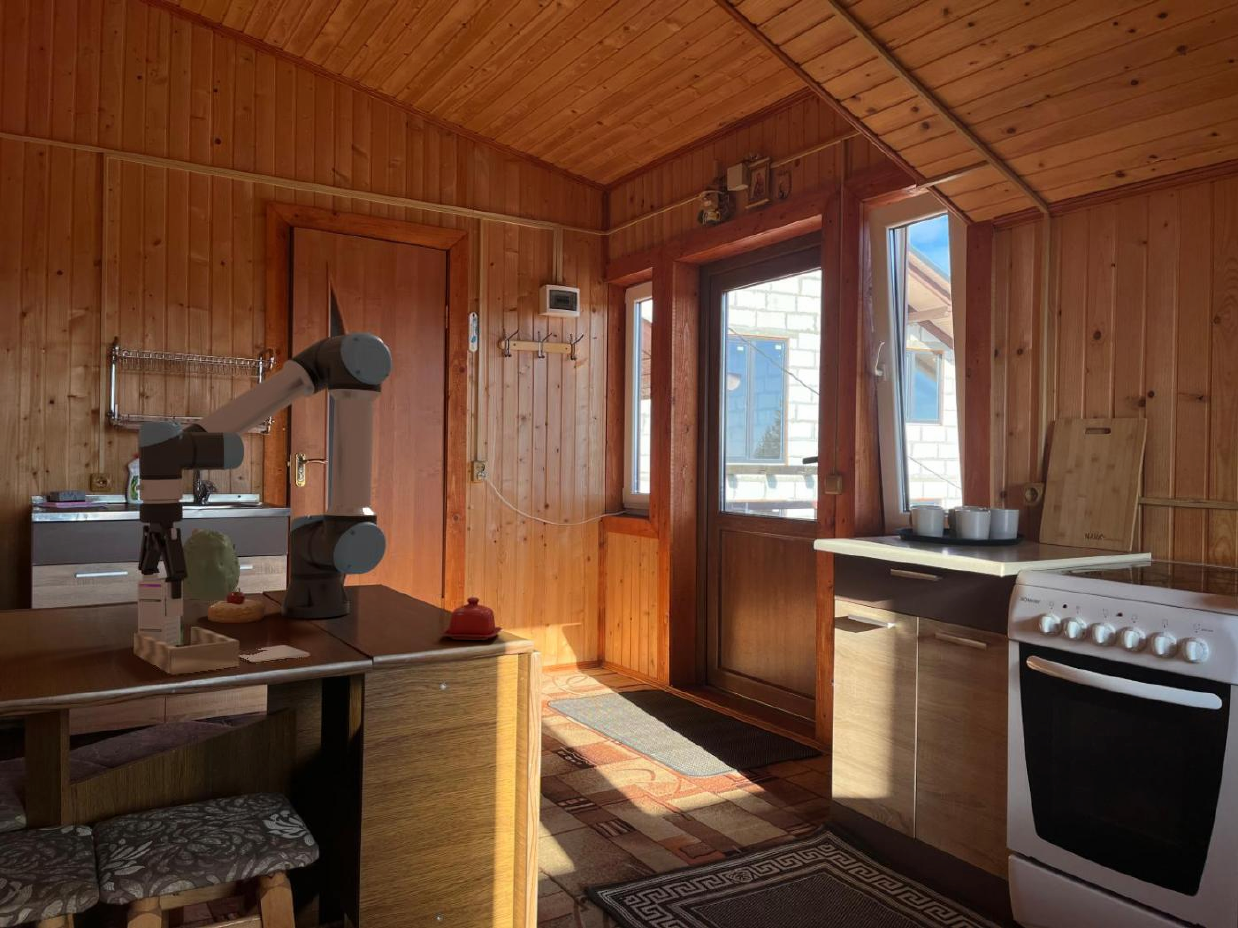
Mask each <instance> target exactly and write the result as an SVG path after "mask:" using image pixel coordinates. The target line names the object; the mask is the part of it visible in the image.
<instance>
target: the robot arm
mask: <svg viewBox="0 0 1238 928" xmlns="http://www.w3.org/2000/svg"><path fill="white" fill-rule="evenodd" d="M282 366H283V367H282V369H280V370H278V371H277V372H275V373H274V374H272V375H270V376H268V377H267V378H265V379H264V380H262V381H260V382H259V383H258V384H256V385H254V386H253V387H251V388H250V389H247V390H246V391H244V392H242V393H241V394H239V395H238V396H236V397H235V398H233V399H231V400H229V401H228V402H227V403H224V404H222V405H221V406H220V407H218V408H216V409H215V410H213V411H212V412H210V413H208V414H206V415H205V416H203V417H201V418H200V419H199V420H196V421H195V422H194V423H192V424H190V425H188V426H187V427H185V428H184V429H183V426H182V423H180V422H178V421H157V420H156V421H145V422H142V423H140V425H139V427H138V428H139V429H138V436H137V437H138V439H137V448H138V472H139V473H138V474H139V475H138V482H139V483H138V484H137V485H136V486H135V487H136V489H137V491H139V497H138V498H139V500H140V501H142V503H140V504H139V507H138V508H139V509H138V510H139V511H138V512H139V513H138V515H139V517H138V518H139V521H140V523H142V524H144V525H143V527H142V539H141V546H140V552H139V559H138V564H137V565H138V566H137V570H138V571H140V573H141V576H142V577H141V578H142V580H141V581H143V580H149V579H154V578H158V577H159V574H160V569H159V567H158V566H159V563H160V560H162V562H163V566H164V569H165V572H166V573H165V574H166V576H165V577H166V579H165V583H166V605H167V617H174V616H182V615H183V616H184V599H183V581H184V579H185V578H187V577H188V574H187V569H186V563H185V558H184V553H183V547H184V546H183V543H182V534H181V533H182V530H181V527H176V528H175V527H174V523H179V522H182V521H183V518H184V516H183V515H184V513H183V512H184V511H183V503H182V502H181V501H180V500H183V498H184V489H183V488H184V487H183V486H184V485H183V484H184V483H183V480H184V479H183V471H216V470H218V471H219V470H221V471H226V470H235V469H238V468H240V466H241V465H242V464H243V462H244V457H245V445H244V442H243V439H242V436H243V435H245V434H246V433H248V432H250V431H251V430H252V429H254V428H255V427H257V426H258V425H260V424H262V423H264V422H266V420H268V419H269V418H271V417H273V416H274V415H276V414H278V413H279V412H281V411H282V410H284V409H286V408H287V407H289V406H290V405H292V404H294V403H295V402H296V401H298V400H300V399H301V398H303V397H304V398H311V397H314V395H315V394H318V393H319V392H322V391H324V390H327V392H328V394H329V395H330V396H331V397H332V398H333V400H334V411H333V412H334V414H333V441H332V442H333V444H332V469H331V470H332V471H331V495H330V496H331V497H330V499H331V501H330V506H329V508H328V509H326V511H324V512H323V514H313V515H303V516H298V517H297V516H296V517H294V518H293V519H292V520H291V521H290V524H289V526H290V529H289V533H288V534H289V535H288V536H289V583H288V586H287V589H286V592H285V594H284V598H283V600H282V601H283V602H282V604H281V616H283V617H286V618H293V619H295V618H296V619H318V618H319V619H321V618H330V617H331V618H333V617H339V616H343V615H347V614H349V613H350V601H349V599H348V595H347V593H346V589H345V587H344V583H343V580H342V579H343V577H342V576H343V575H342V574H345V575H348V576H349V575H363V574H367V573H370V572H371V571H373V570H375V568H376V567H377V566H378V564H380V563H381V561H382V560H383V558H384V556H385V553H386V549H387V540H386V536H385V533H384V532H383V531H382V528H380V527H379V526H378V523H377V522H378V514H377V512H376V511H375V510H374V509H373V508H372V506H371V502H372V501H371V500H372V499H371V497H372V472H373V442H374V440H373V439H374V417H375V415H374V413H375V412H374V409H375V407H374V405H375V401H376V400H377V399H378V398H379V397H380V396H381V395H382V383H383V382H384V381H385V380H387V378H388V377H389V376H390V375H391V372H392V367H393V359H392V355H391V351H390V349H389V347H388V346H387V345H386V344H385V343H384V341H383V339H381V338H380V337H379V336H377V335H375V334H373V333H370V332H352V333H349V334H343V335H336V336H335V335H334V336H329V337H324V338H322V339H320V340H318V341H315V343H313V344H311V345H310V346H308V347H306V348H305V349H303V350H302V351H300V352H299V353H297V354H296V355H294V356H292V357H291V358H290V359H288V360H286V361H285V362H284V363H283V365H282ZM145 524H147V525H145Z"/></svg>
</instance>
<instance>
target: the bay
mask: <svg viewBox="0 0 1238 928" xmlns="http://www.w3.org/2000/svg"><path fill="white" fill-rule="evenodd" d="M239 651H240V640H238V639H235V638H231V637H228V636H226V635H223V634H220V633H217V632H214V631H211V630H208V629H205V628H203V627H200V626H191V627H190V645H185V646H180V647H175V646H172V645H170V644H167V643H165V642H162V641H160V640H157V639H155V638H153V637H150V636H148V635H145V634H143V633H138V632H137V633H135V632H134V634H133V654H134V655H135V656H137V657H139V658H141V659H142V660H143V661H145V662H147V661H148V663H150V664H151V665H153V666H154V665H156V666H157V667H159V668H160V669H159V668H158V669H159V670H161V669H162V670H161V671H163V670H164V671H165V672H164V671H163V672H164V673H166V672H167V673H166V674H168V673H170V674H172V675H173V674H179V673H191V674H195V673H194V672H199V673H201V672H200V671H207V672H209V671H208V670H214V671H217V670H216V669H222V670H224V669H223V668H228V667H234V666H239V667H240V658H239ZM156 666H155V667H156ZM157 667H156V668H157Z"/></svg>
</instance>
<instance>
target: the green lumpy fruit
mask: <svg viewBox="0 0 1238 928" xmlns="http://www.w3.org/2000/svg"><path fill="white" fill-rule="evenodd" d="M182 547H183V553H184V558H185V563H186V569H187V574H188V577H187V578H185V579H184V581H183V600H184V601H186V600H189V599H200V600H194V601H214V600H225V599H226V596H227V595H228V594H229V593H231V592H235V590H236V589H237V587H238V584H239V582H240V574H241V565H240V564H239V558H238V553H237V551H236V550H235V549H236V543H234V544H232V542H231V539H230V536H228V534H227V533H225V534H224V533H222V532H220V531H217V530H211V529H202V528H194V529H193V530H192V533H191V536H190V537H188V538H187V539H186V541H185V542H184V544H183V546H182Z"/></svg>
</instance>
